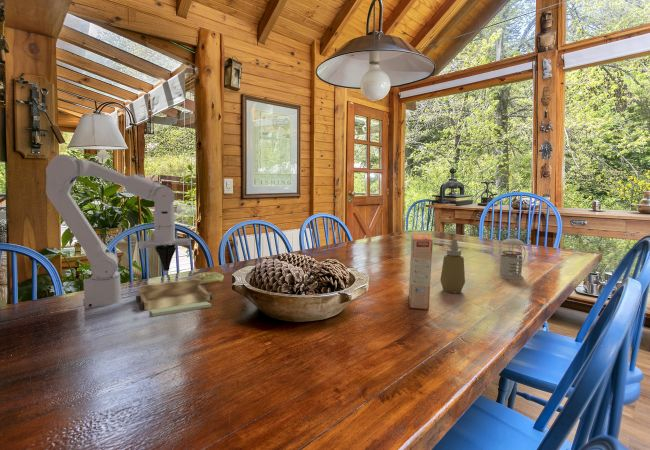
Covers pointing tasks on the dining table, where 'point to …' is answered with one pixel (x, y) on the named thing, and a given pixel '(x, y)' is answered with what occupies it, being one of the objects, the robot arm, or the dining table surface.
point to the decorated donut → (209, 277)
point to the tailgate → (180, 308)
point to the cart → (171, 294)
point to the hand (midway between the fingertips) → (166, 270)
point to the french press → (511, 260)
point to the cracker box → (420, 270)
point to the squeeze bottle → (453, 270)
